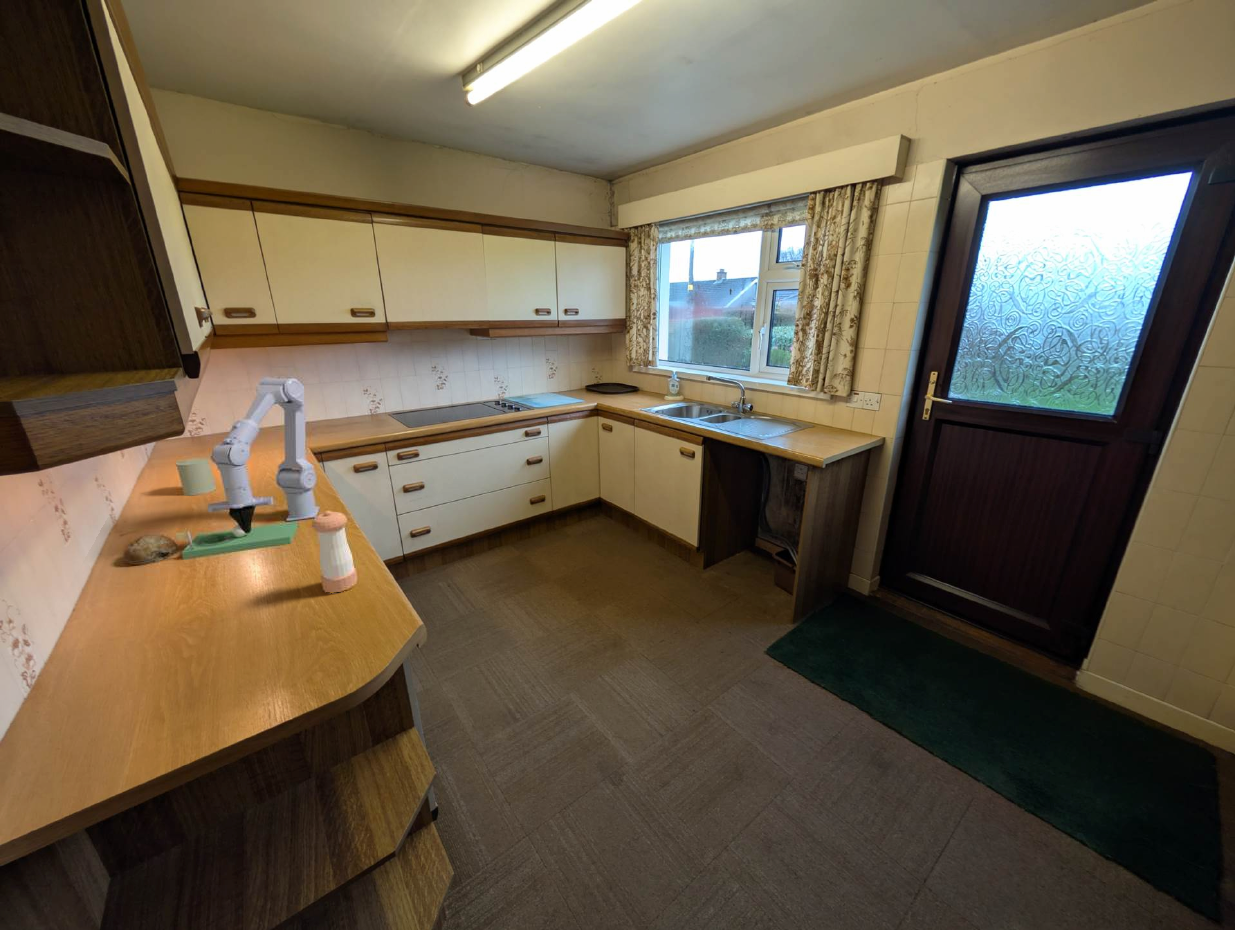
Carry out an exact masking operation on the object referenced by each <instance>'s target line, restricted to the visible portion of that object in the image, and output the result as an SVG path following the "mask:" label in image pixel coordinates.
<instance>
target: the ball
mask: <svg viewBox="0 0 1235 930" xmlns="http://www.w3.org/2000/svg"><path fill="white" fill-rule="evenodd" d="M231 530H232V532H233V534H234V535H235V536H237V537H243V536H245V535H246V534H247V533H245V532H244V531H243V530H242V529H241V527H240V526H239V524H236V525H234V527H233V528H232V529H231Z"/></svg>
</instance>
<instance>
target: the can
mask: <svg viewBox="0 0 1235 930" xmlns="http://www.w3.org/2000/svg"><path fill="white" fill-rule="evenodd" d="M175 465H176V468H177V473H178V475H179V479H180V483H181V485H182V491H183V495H184V496H199V495H200V496H201V495H204V494H209V493H212V492H214V491H216V490H217V487H216V484H215V479H214V476H213V473H212V468H211V463H210V459H209V458H208V457H194V458H193V457H192V458H189V459H188V458H187V459H182V460H180V461H177V462H176V463H175Z"/></svg>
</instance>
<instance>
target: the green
mask: <svg viewBox="0 0 1235 930" xmlns="http://www.w3.org/2000/svg"><path fill="white" fill-rule="evenodd" d="M298 528H299V525H298V520H294V521H286V522H281V523H273V524H266V525H259V526H251V531H250V533H247V534H246V535H245V536H243V537H237V536H235V535H234V534H233V532H232V530H233V529H228V530H221V531H215V532H205V533H198V534H196V536H194V538H193V539H192V537H191V533H190V531H187V532H179V533H176V534H175V536H176V539H177V540H183V539H184V540H185V539H187V540H188V545H187V546H185V548H183V550H182V552H181V556H182V559H183V560H187V559H188V560H189V559H195V558H201V557H202V558H203V557H207V556H208V557H209V556H214V555H221V554H222V555H223V554H228V553H229V554H230V553H234V552H241V551H242V552H243V551H248V550H256V549H261V548H267V547H269V548H270V547H276V546H282V545H289V544H292V541H293V539H294V537H295V536H296V532H297V531H298Z"/></svg>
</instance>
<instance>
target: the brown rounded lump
mask: <svg viewBox="0 0 1235 930" xmlns="http://www.w3.org/2000/svg"><path fill="white" fill-rule="evenodd" d="M126 547H127V548H126V549H125V550H124V551H123V558H124V561H125V562H126V563H128V564H130V565H132V566H134V565H135V566H136V565H138V566H139V565H149V564H153V563H159V562H161V561H163V560H166V559H168V558H170V557H171V556H173V555H175V554H177V551H178V545H177V543H176V541H175V540H174V539H172V538H170V537H169V536H165V535H164V534H156V533H155V534H154V533H153V534H146V535H142V536H140V537H139V536H138V537H137V538H136V539H134V540H133V541H131V543H129V544H128V545H127V546H126Z"/></svg>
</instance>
